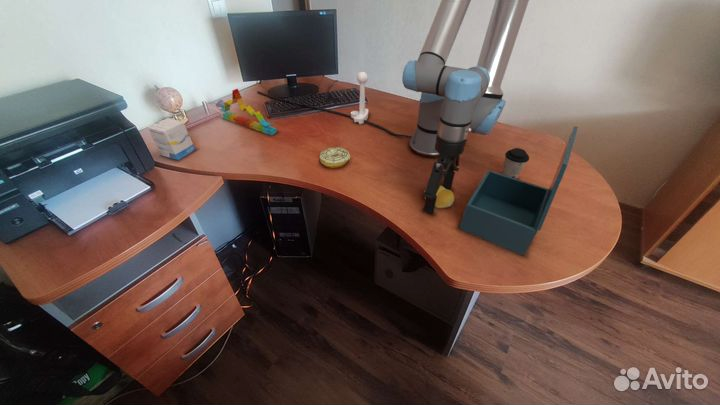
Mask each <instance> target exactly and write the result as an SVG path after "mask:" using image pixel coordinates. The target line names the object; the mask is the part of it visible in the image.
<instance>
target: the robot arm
mask: <svg viewBox="0 0 720 405" xmlns="http://www.w3.org/2000/svg"><path fill="white" fill-rule="evenodd" d="M471 1H472V0H441V1H440V3H439V6H438V7H437V11H436V13H435V16H434V17H433V21H432V23H431V26H430V28H429V31H428V34H427V36H426V37H425V41H424V43H423V46H422V48H421V51H420V52H419V55H418V58H417V59H414V60H413V59H412V60H411V59H410V60H409V61H408V62H407V63H406V64H405V65H404V68H403V71H402V77H401V78H402V79H401V82H402V84H403V87H404V88H405V89H407V90H409V91H413V92H416V93H420V99H419V106H418V114H417V121H416V127H415V130H414V132H413V134H412V135H409V134H402V133H397V132H392V131H391V130H389V129H387V128H386V127H384V126H382V125H380V124H377V123H374V122H372V121H368V120H364V123H366V124H369V125H370V126H371V125H372V126H374V127H376V128H379V129H380V130H383V131H385V132H386V133H388V134H390V135H392V136H395V137H402V138H407V139H409V149H410V150H411V151H412V152H413V153H414V154H416V155H418V156H421V157H424V158H437V159H436V161H434V162H433V163H432V164H433V165H432V168H431V173H430V176H429V178H428V181H427V184H426V187H425V189H424V191H425V192H424V191H423V196H422V197H423V198H424V197H426V200H425V202H424V207H423V212H425V213H427V214H430V215H433V214H434V212H435V208H436V207H435V203H436V198H437V195H436V194H437V192H438V189H439V187H440V185H441V184H442V185H441V186H443V187H444V188H445V189H448V190H450V191H451V189H452V186H453V183H454V178H455V175H456V172H459V170H460V168H459V166H460V156H461V155H462V154H463V153H464V152H465V149H466V143H467V139H468V137H469V136H468V135H469V133H473V134H474V135H475V134H477V135H483V136H486V135H489V134H490V133H492V131H493V130H494V128H495V126H496V124H497V122H498V120H499V119H500V116H501V114H502V112H503V110H504V107H505V106H506V100H505V99H503V97H504V91H503V90H502V87H501V86H502V83H503V80H504V77H505V74H506V71H507V69H508V65H509V63H510V62H509V61H510V59H511V56H512V53H513V50H514V48H515V43H516V41H517V37H518V35H519V32H520V29H521V25H522V22H523V19H524V17H525V13H526V10H527V8H528V5H529V1H530V0H494V5H493V8H492V11H491V15H490V18H489V22H488V25H487V29H486V32H485V35H484V39H483V43H482V46H481V50H480V53H479V56H478V60H477V62H476V63H477V64H476V66H475V65H474V66H472V67H469V68H462V67H455V66H449V65H446V64H447V61H448V58H449V56H450V53H451V51H452V49H453V46H454V44H455V41H456V39H457V35H458V33H459V31H460V29H461V26H462V24H463V21H464V18H465V16H466V14H467V11H468V8H469V6H470V3H471ZM256 93H257V94H260V95H262V96H264V97H267V98H271V99H274V100H277V101H281V100H282V99H283V98H279V97H277V96H272V95H270V94H267V93H264V92H262V91H259V90H257V91H256ZM292 102H293V101H292ZM292 102H290V103H289V102H287V101H286V102H285V103H289V104H293V103H292ZM296 105H297V106H301V105H300V104H296ZM312 106H313V105H310V106H305V107H306V108H311V109H314V110H320V111H324V112H329V113H333V114H337V115H340V116H345V117H348V118H351V114H348V113H344V112H339V111H336V110H332V109H327V108H323V107H319V108H317V107H318V106H315V107H312Z"/></svg>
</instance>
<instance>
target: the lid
mask: <svg viewBox="0 0 720 405" xmlns="http://www.w3.org/2000/svg"><path fill="white" fill-rule="evenodd" d="M578 129H579V126H575V125H574V126H573V128H572V130H571V133H570V135H569V138H568V140H567V143H566V145H565V148H564V151H563V153H562V155H561V159H560V160H559V163H558V166H557V168H556V171H555V174H554V176H553V179H552V181H551V184H550V186H549V188H548V189H549V192H548V195H547V198H546V201H545V204H544V207H543V210H542V213H541V216H540V219H539V223H538V226H537V229H536V230H538V231H541V230H542V227H543V225H544V223H545V220H546V218H547V215H548V213H549V210H550V208H551V206H552V203H553V201H554V199H555V196H556V194H557V191H558V189H559V187H560V185H561V181H562V180H563V177H564V175H565V172H566V171H567V170H566V169H567V167H568V165H569V161H570V157H571V154H572V151H573V147H574V143H575V139H576V135H577V132H578Z"/></svg>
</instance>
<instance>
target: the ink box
mask: <svg viewBox="0 0 720 405" xmlns="http://www.w3.org/2000/svg"><path fill="white" fill-rule="evenodd" d="M147 129H148V131H149V133H150V135H151V137H152V139H153V141H154V143H155V144H156V146H157V149H158V150H159V152H160V154H161V156H163V157H166V158H169V159H172V160H175V161H180V160H182V158H183V159H184V158H185V157H186V156H188V155H189V154H191V153H193V152H194V151H196V147H195V145H194V143H193V141H192V139H191V136H190V134H189V131H188V129H187V127H186V125H185V122H184V121H181V120H178V119H174V118H171V117H167V118H164V119H162V120H160V121H157V122H154V123H153V124H151V125H150V126H147Z"/></svg>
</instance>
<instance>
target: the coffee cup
mask: <svg viewBox="0 0 720 405" xmlns="http://www.w3.org/2000/svg"><path fill="white" fill-rule="evenodd" d="M504 156H505V158H504V161H503V166H502V171H501V174H503V175H506V176H509V177H512V178H515V179H518V178H519V176H520V174H521V173H522V171H523V170H524V167H525V166H526V164H527V163H528V162H529V160H530V156H529V154H528V153H527V152H526V150H524V149H522V148H519V147H515V148H511V149H509V150H507V151H505V154H504Z"/></svg>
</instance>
